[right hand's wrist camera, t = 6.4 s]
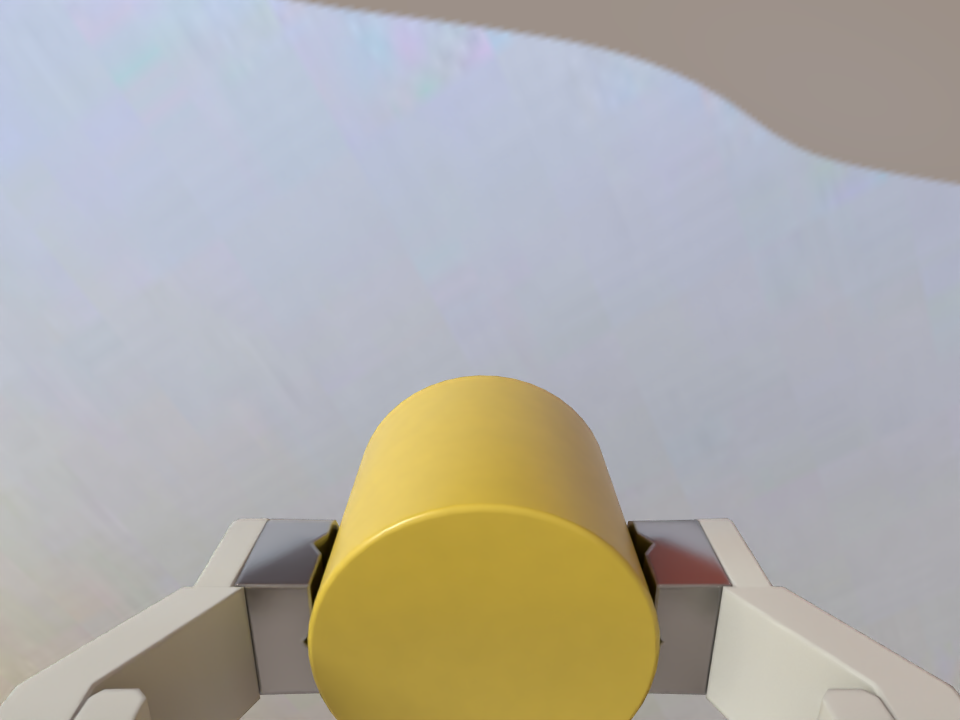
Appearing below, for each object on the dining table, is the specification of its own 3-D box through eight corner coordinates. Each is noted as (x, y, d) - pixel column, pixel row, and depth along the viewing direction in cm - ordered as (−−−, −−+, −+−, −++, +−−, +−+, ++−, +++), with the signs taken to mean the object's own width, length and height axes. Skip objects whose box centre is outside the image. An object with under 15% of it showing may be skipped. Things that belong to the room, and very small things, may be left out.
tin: (549, 613, 13) (576, 818, 9) (330, 547, 13) (266, 734, 9) (647, 422, 12) (725, 574, 8) (405, 338, 11) (366, 456, 7)
